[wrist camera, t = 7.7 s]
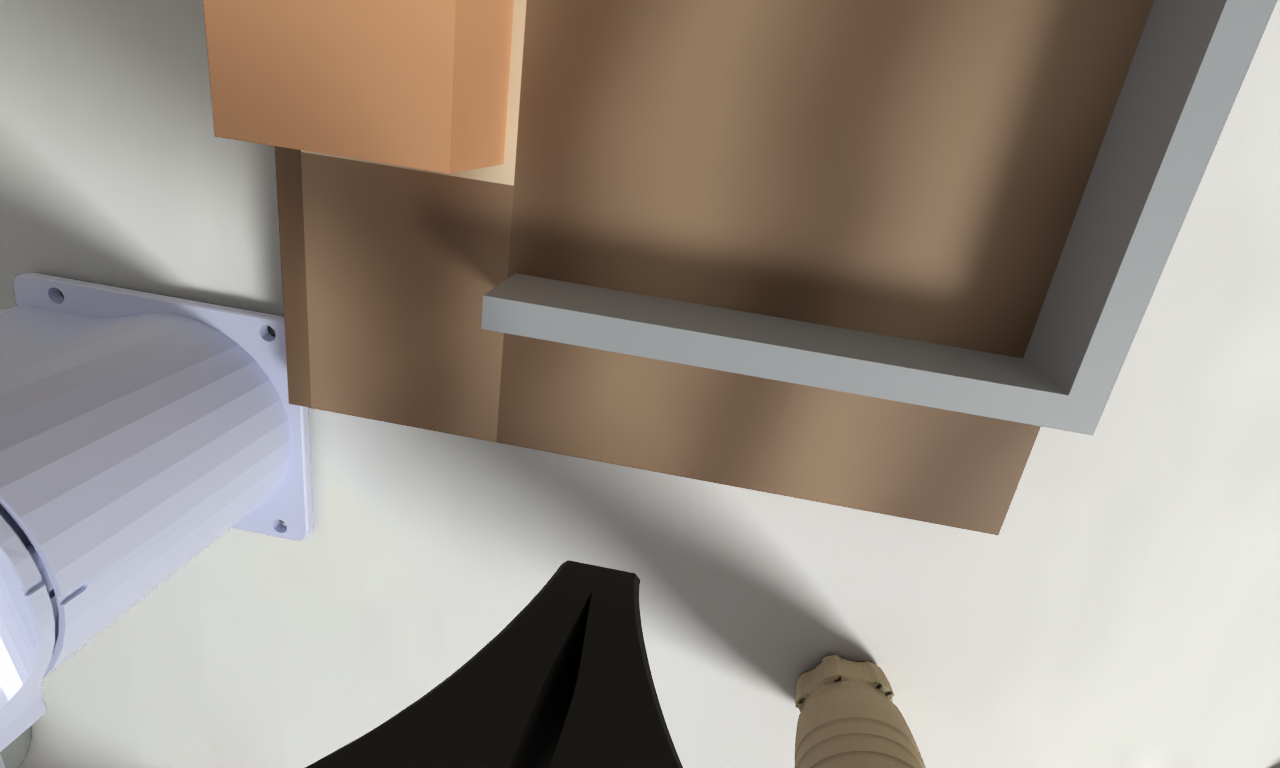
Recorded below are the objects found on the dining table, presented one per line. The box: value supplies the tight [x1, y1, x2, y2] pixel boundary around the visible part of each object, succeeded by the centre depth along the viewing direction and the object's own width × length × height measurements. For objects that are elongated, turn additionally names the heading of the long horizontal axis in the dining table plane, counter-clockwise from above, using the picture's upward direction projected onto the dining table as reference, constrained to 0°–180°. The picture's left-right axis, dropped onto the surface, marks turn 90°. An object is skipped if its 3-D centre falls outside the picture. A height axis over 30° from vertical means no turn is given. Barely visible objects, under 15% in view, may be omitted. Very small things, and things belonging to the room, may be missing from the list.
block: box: [203, 0, 514, 174], centre depth 15 cm, size 5×5×4 cm
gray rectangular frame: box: [481, 0, 1277, 435], centre depth 15 cm, size 14×12×2 cm
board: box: [275, 0, 1154, 535], centre depth 17 cm, size 20×20×2 cm
